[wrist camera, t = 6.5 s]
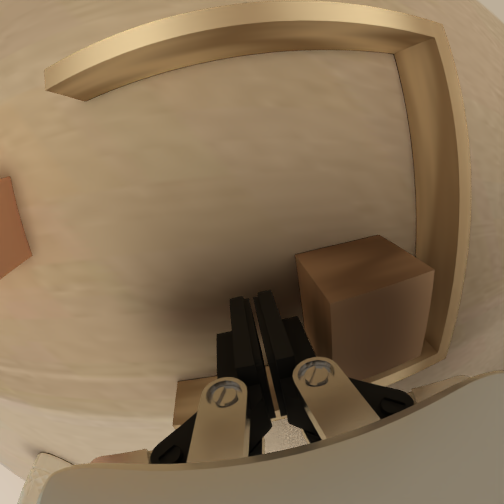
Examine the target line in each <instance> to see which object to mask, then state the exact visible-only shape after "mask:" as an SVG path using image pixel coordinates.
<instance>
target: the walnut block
mask: <svg viewBox="0 0 504 504" xmlns="http://www.w3.org/2000/svg"><path fill="white" fill-rule="evenodd" d="M295 258H296V265H297V273H298V280H299V287H300V295H301V303H302V311H303V319H304V328H305V332H306V334H307V337H308V339H309V341H310V343H311V345H312V347H313V349H314V351H315V353H316V356H317V357H325V358H329V359H331V360H333V361H334V362H335V363H336V364H337V365H338V366H339V367H340V368H341V370H342V371H343V372H344V373H345V375H346V376H347V377H349V378H353V379H356V380H360V381H361V380H364V379H367V378H369V377H372V376H375V375H377V374H380V373H382V372H385V371H387V370H389V369H392V368H394V367H397V366H399V365H401V364H403V363H406V362H408V361H410V360H412V359H414V358H416V357H419V356H420V354H421V350H422V346H423V341H424V337H425V332H426V327H427V321H428V316H429V310H430V304H431V297H432V289H433V281H434V272H435V270H434V269H433V268H431V267H430V266H428V265H427V264H425V263H424V262H422V261H421V260H419V259H417V258H416V257H414V256H413V255H411V254H409V253H408V252H406V251H405V250H403V249H401V248H400V247H398V246H397V245H395V244H393V243H392V242H390V241H388V240H387V239H385V238H383V237H382V236H380V235H376V236H372V237H367V238H363V239H359V240H355V241H351V242H347V243H342V244H338V245H334V246H330V247H326V248H321V249H317V250H313V251H309V252H304V253H300V254H296V255H295Z"/></svg>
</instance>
